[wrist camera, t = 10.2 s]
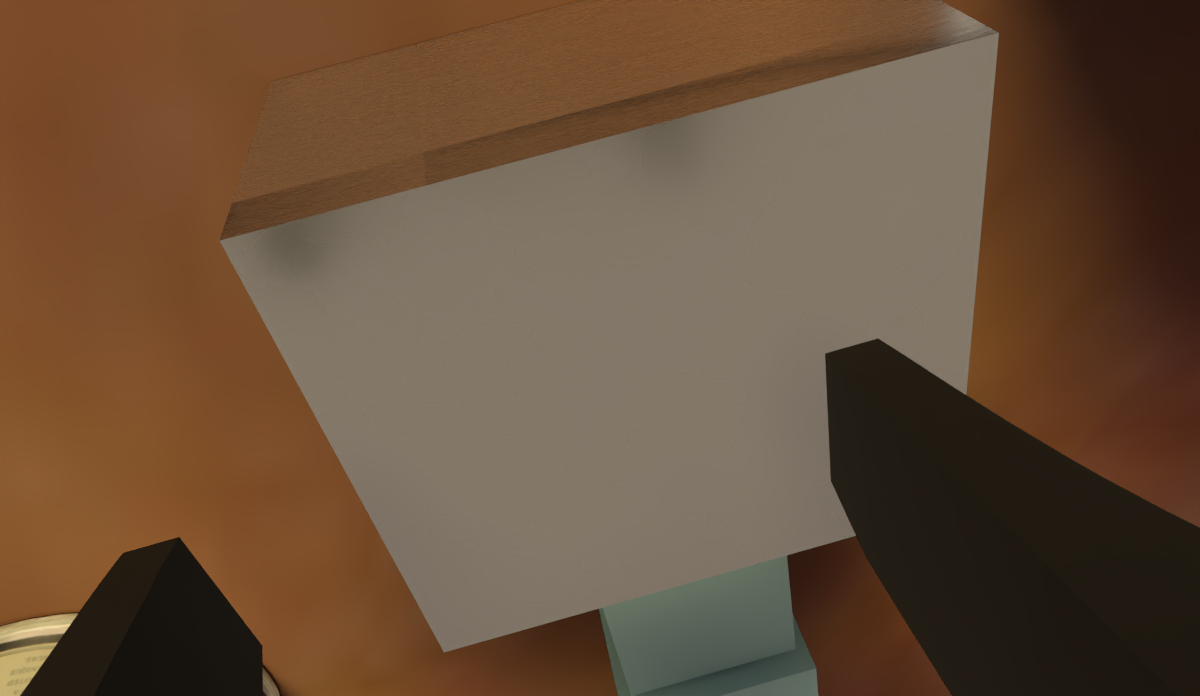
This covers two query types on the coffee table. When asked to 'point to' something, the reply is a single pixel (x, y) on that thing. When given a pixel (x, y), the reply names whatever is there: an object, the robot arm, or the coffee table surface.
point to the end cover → (712, 638)
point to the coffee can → (45, 652)
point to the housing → (613, 279)
